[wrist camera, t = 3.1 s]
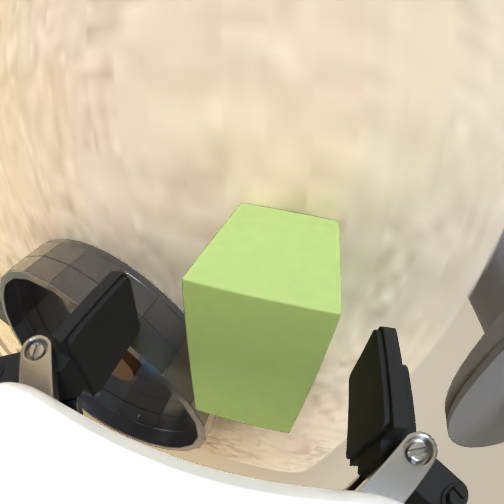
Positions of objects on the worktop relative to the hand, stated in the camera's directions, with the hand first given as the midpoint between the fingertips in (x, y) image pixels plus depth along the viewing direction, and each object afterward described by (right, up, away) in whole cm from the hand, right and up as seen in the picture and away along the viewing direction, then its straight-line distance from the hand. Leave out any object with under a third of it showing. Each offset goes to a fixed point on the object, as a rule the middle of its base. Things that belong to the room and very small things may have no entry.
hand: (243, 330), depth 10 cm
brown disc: (-10, -5, +9) cm, 15 cm away
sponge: (+2, +1, +3) cm, 4 cm away
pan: (-11, -5, +10) cm, 16 cm away
